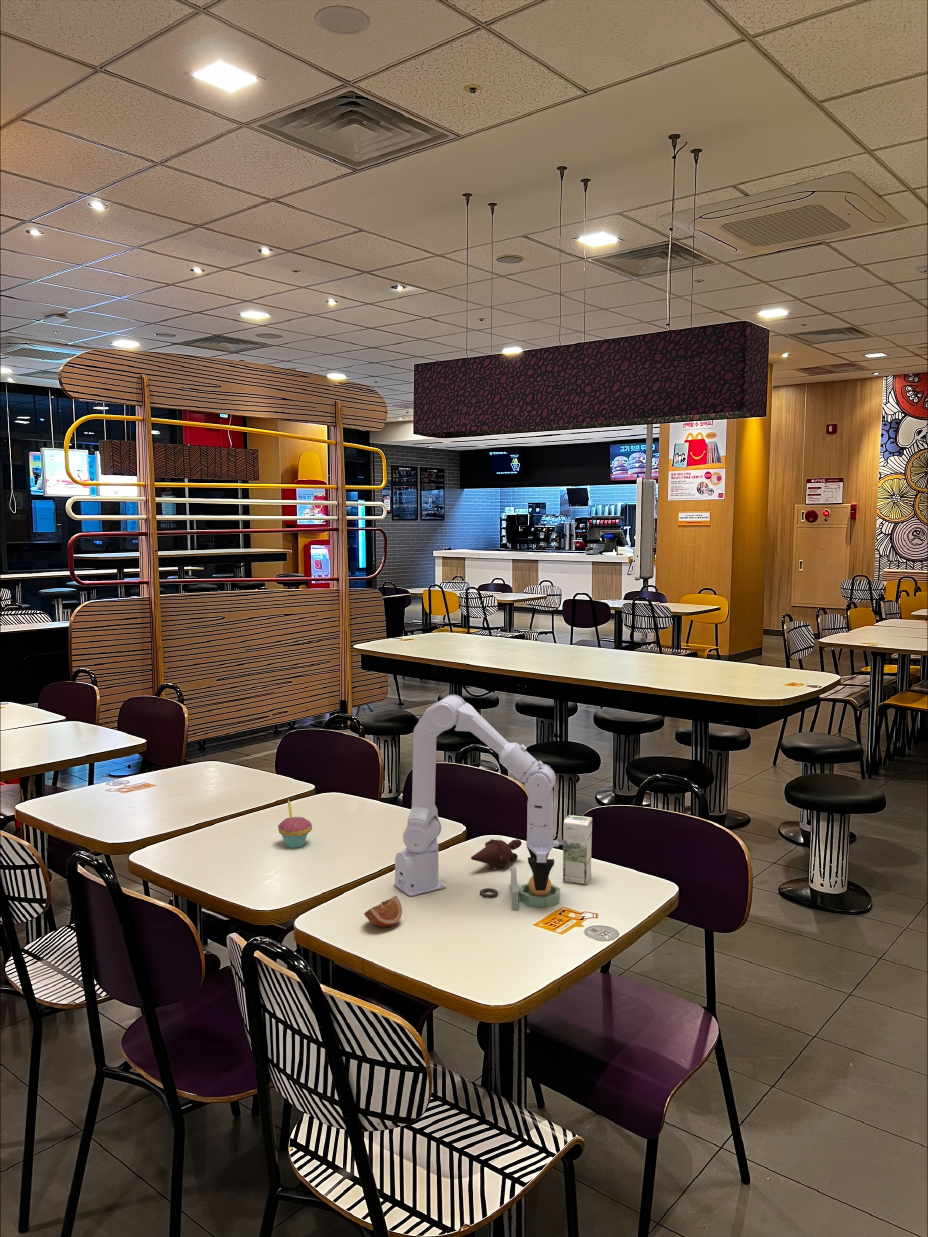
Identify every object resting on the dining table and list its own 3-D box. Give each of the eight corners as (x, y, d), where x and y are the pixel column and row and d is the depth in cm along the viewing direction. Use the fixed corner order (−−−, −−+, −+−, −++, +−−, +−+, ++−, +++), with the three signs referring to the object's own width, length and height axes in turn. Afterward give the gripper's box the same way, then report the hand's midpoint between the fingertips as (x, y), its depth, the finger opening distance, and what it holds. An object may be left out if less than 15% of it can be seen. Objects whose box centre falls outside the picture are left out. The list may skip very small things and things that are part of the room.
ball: (537, 902, 189) (537, 880, 189) (523, 894, 194) (523, 872, 193) (555, 898, 192) (556, 875, 192) (542, 890, 196) (542, 868, 196)
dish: (535, 910, 187) (535, 901, 187) (512, 896, 194) (512, 887, 194) (567, 901, 192) (567, 892, 191) (543, 888, 199) (543, 879, 199)
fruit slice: (380, 937, 175) (380, 912, 174) (356, 927, 179) (355, 904, 178) (408, 922, 181) (408, 899, 181) (384, 914, 185) (384, 891, 185)
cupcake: (271, 847, 224) (271, 801, 223) (290, 837, 232) (289, 792, 231) (300, 852, 221) (300, 805, 220) (318, 841, 229) (318, 796, 228)
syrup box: (591, 876, 206) (592, 816, 204) (586, 886, 200) (587, 824, 199) (567, 873, 208) (568, 813, 206) (562, 883, 202) (562, 821, 201)
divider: (517, 910, 187) (517, 891, 187) (511, 910, 187) (511, 891, 187) (516, 884, 201) (516, 867, 201) (510, 884, 201) (510, 867, 201)
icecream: (484, 853, 203) (532, 845, 212) (465, 836, 209) (513, 829, 218) (477, 879, 205) (525, 870, 214) (459, 862, 210) (506, 854, 219)
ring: (486, 899, 193) (486, 896, 193) (476, 893, 196) (476, 890, 196) (501, 895, 195) (501, 892, 195) (491, 889, 198) (491, 887, 198)
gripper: (561, 833, 184) (560, 896, 185) (556, 812, 198) (555, 870, 200) (527, 833, 184) (526, 896, 185) (525, 811, 199) (524, 870, 200)
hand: (539, 883), depth 193 cm, fingers open, 7 cm apart
